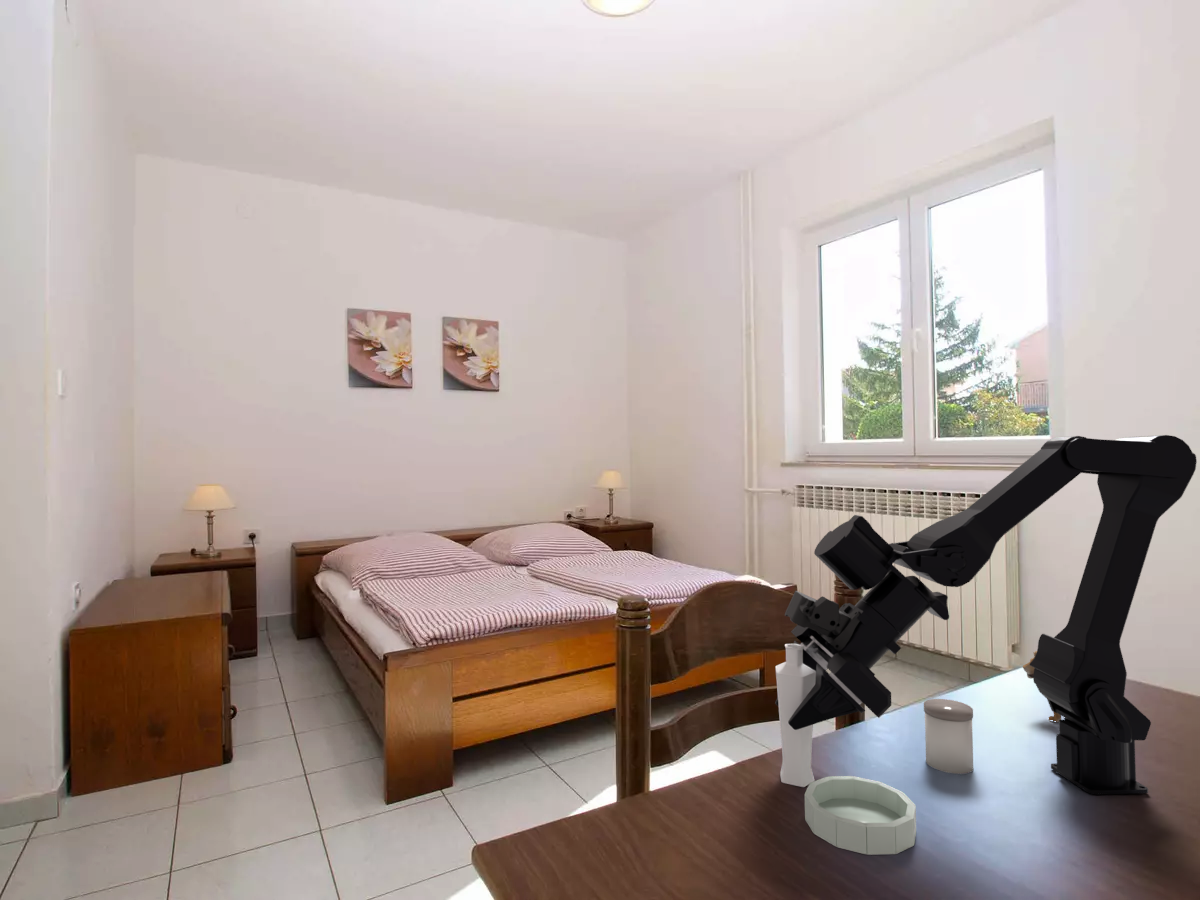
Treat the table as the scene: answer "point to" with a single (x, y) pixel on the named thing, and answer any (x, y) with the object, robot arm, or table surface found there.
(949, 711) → the cream jar
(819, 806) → the ring dish
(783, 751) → the white faceted vase
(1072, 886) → the table surface
